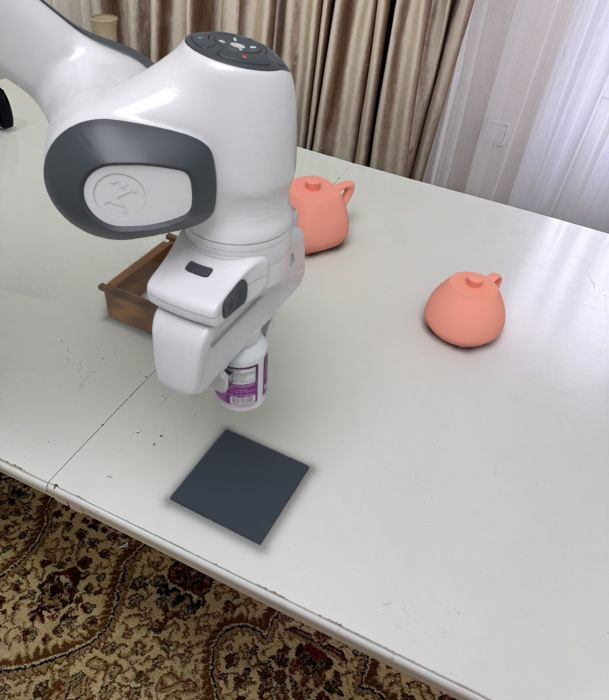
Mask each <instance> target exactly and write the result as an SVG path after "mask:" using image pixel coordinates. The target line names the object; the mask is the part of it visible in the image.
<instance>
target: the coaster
mask: <svg viewBox="0 0 609 700" xmlns="http://www.w3.org/2000/svg"><path fill="white" fill-rule="evenodd" d="M309 469H310V465H308V464H305V463H303V462H301V461H299V460H297V459H295V458H292V457H290V456H288V455H286V454H284V453H281V452H279V451H277V450H275V449H272V448H270V447H268V446H266V445H263V444H261V443H259V442H257V441H255V440H252V439H250V438H249V437H246V436H244V435H242V434H239V433H237V432H235V431H232V430H231V429H228V428H225V429H224V430H223V432H222V433H221V434H220V436H218V438H217V439H216V440H215V442H214V443H213V444H212V445H211V446H210V448H209V449H208V450H207V451H206V453H205V454H204V455H203V456H202V457H201V458H200V460H199V461H198V463H197V464H196V465H195V466H194V467H193V468H192V470H191V471H190V472H189V473H188V475H187V476H186V477H185V479H184V480H183V481H182V482H181V483H180V485H178V487H177V488H176V489H175V490H174V492H173V493H172V494H171V495H170V497H169V499H170V501H172V502H175V503H176V504H178V505H181V506H182V507H184V508H186V509H189V511H192V512H194V513H196V514H197V515H200V516H202V517H204V518H206V519H208V520H210V521H211V522H214V523H215V524H218V525H219V526H222V527H224V528H226V529H227V530H230V531H231V532H234V533H236V534H237V535H239V536H241V537H243V538H245V539H247V540H249V541H251V542H252V543H255V544H257V545H259V546H261V545H262V543H263V542H264V540H265V538H266V537H267V535H268V534H269V532H270V530H271V529H272V527H274V524H275V523H276V521H277V519H278V518H279V516H280V515H281V513H282V511H283V510H284V508H285V507H286V505H287V504H288V503H289V501H290V499H291V498H292V496H293V494H294V493H295V491H296V490H297V488H298V487H299V485H300V484H301V482H302V480H303V478H304V477H305V475H306V474H307V473H308V471H309Z"/></svg>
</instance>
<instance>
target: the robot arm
mask: <svg viewBox="0 0 609 700" xmlns="http://www.w3.org/2000/svg"><path fill="white" fill-rule="evenodd" d="M0 76H2V77H3V78H5V79H6V80H8V81H9V82H11V83H12V84H14V85H15V86H17V87H19V89H21V90H22V91H24V92H26V94H28V95H29V96H30V97H31V98H32V100H34V102H35V103H36V104H37V106H38V107H39V108H40V110H41V111H42V114H43V115H44V116H45V119H46V120H47V122H48V127H47V131H46V138H45V148H44V158H43V159H44V162H43V181H44V186H45V189H46V193H47V195H48V197H49V199H50V201H51V202H52V204H53V206H54V208H55V209H56V210H57V211H58V212H59V214H61V216H62V217H63V218H64V219H65V220H67V221H68V222H69V223H70V224H72V225H73V226H74V227H76V228H77V229H79V230H81V231H82V232H84V233H87V234H89V235H92V236H94V237H97V238H101V239H105V240H110V241H111V240H112V241H130V240H131V241H132V240H138V239H144V238H149V237H155V236H160V235H167V234H168V233H175V232H178V234H177V238H176V241H175V243H174V245H173V246H172V248H171V250H170V252H169V253H168V255H167V256H166V258H165V259H164V261H163V262H162V263H161V265H160V266H159V268H158V269H157V270H156V271H155V273H154V274H153V275H152V277H151V278H150V280H149V282H148V285H147V290H146V294H147V299H148V300H149V301H150V302H152V303H154V304H156V305H158V306H159V307H158V308H157V310H156V313H155V315H154V319H153V325H152V334H151V335H152V336H151V338H152V348H153V349H152V350H153V357H154V365H155V370H156V375H157V378H158V380H159V382H160V383H161V384H162V385H164V387H167V388H168V389H171V390H173V391H174V392H176V393H180V394H182V395H185V396H188V397H190V398H191V397H192V398H198V397H200V396H201V395H202V394H203V393H204V392H205V391H206V389H207V388H208V387H210V388H211V389H212V390H214V391H215V390H217V391H219V392H221V393H225V392H226V391H227V389H228V388H229V387H230V386H231V385H232V384H233V382H234V380H233V372H232V371H230V370H227V369H226V368H227V366H228V364H229V363H230V362H231V361H232V359H233V358H234V357H235V356H236V355H237V354H238V353H239V352H240V351H241V350H242V349H243V347H244V346H245V345H246V344H247V343H248V342H249V341H250V339H251V337H252V335H253V333H254V332H255V331H256V330H257V329H258V328H259V327H260V326H261V333H262V334H263V335H264V336H265V338H266V340H267V343H268V344H269V335H270V331H271V328H272V325H273V323H274V321H275V317H276V315H277V312H278V311H279V310H280V308H281V307H282V306H283V305H284V304H285V303H286V302H287V301H288V299H289V298H290V297H291V296H292V295H293V294H294V293H295V292H296V291H297V289H298V288H299V287H300V286H301V284H302V281H303V279H304V276H305V271H306V270H305V266H306V255H305V242H304V234H303V231H302V229H301V228H299V227H297V225H298V211H297V210H296V209H295V208H294V207H293V206H292V205H291V201H290V186H291V183H292V180H293V179H295V175H296V171H297V159H298V158H297V157H298V156H297V155H298V106H297V104H298V103H297V93H296V87H295V81H294V78H293V74H292V72H291V70H290V68H289V67H288V65H287V64H286V62H285V61H284V59H282V58H281V57H280V56H279V54H277V53H276V52H275V51H274V50H273V49H272V48H270V47H269V46H268V45H266V44H264V43H263V42H262V43H261V42H259V41H256V40H254V39H253V38H250V37H248V36H244V35H241V34H236V33H233V32H228V31H227V32H226V31H220V30H219V31H218V30H208V31H198V32H192V33H189V34H188V35H186V36H185V37H183V39H182V40H181V42H180V43H179V44H178V45H177V46H176V47H175V48H174V49H173V50H172V51H170V52H169V53H168V54H166V55H165V56H163V58H161V59H159V61H157V62H153V60H151V59H150V58H149V57H148V56H146V55H145V54H143V53H142V52H140V51H138V50H136V49H134V48H133V47H130V46H129V45H126V44H123V43H120V42H118V41H117V42H115V41H112V40H110V39H107V38H104V37H101V36H99V35H96V34H95V32H94V33H93V32H91V31H89V30H87V29H85V28H83V27H81V26H80V25H77V24H76V23H74V21H72V20H71V19H69V18H68V17H66V16H65V15H63V14H62V13H61V12H60V11H58V10H57V9H56V8H55V7H53V6H52V5H50V3H48V2H47V1H46V0H0Z"/></svg>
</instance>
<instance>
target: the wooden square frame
mask: <svg viewBox="0 0 609 700" xmlns="http://www.w3.org/2000/svg"><path fill="white" fill-rule="evenodd" d="M177 236H178V234H174V233H172V232H170V233H166V234H165V239H166V240H167V241H164V240H162V241H161V242H160V243H158V244H157V245H156V246H154V247H153V248H152V249H151V250H149V251H147V253H145V254H143V255H142V256H141V257H140V258H139V259H137V260H136V261H134V262H133V263H132V264H130V265H129V266H128V267H126V268H125V269H124V270H123V271H121V272H120V273H119V274H117V275H116V276H114V277H113V278H112V279H111V280H109V281H108V282H106V283H105V282H100V283H99V284H98V285H97V289H98V291H101V292H103V293H104V297H105V303H106V308H107V313H108V317H110V318H112V319H114V320H117V321H119V322H121V323H124V324H127V325H129V326H131V327H134V328H135V329H139V330H141V331H143V332H146V333H149V334H151V335H152V325H153V319H154V315H155V313H156V310H157V308H158V307H159V306H158V305H156V304H154V303H152V302H150V301H149V299H148V298H145V297H143V296H142V295H143V294H145V292H147V285H148V282H149V280H150V278H151V277H152V275H153V274H154V273H155V271H156V270H157V269H158V268H159V266H160V265H161V263H162V262H163V261H164V259H165V258H166V256H167V255H168V253H169V252H170V250H171V248H172V246H173V245H174V243H175V241H176V238H177Z"/></svg>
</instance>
